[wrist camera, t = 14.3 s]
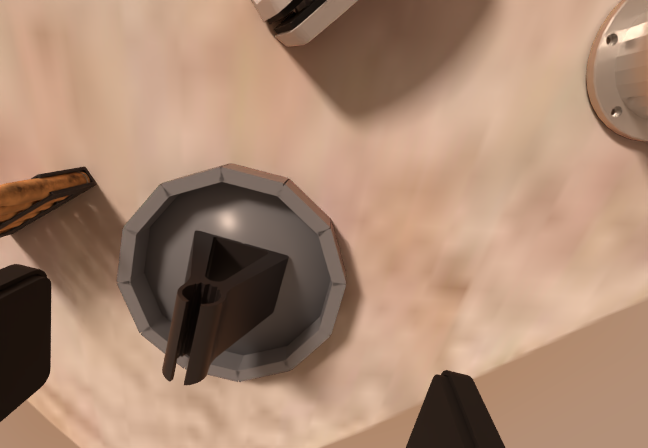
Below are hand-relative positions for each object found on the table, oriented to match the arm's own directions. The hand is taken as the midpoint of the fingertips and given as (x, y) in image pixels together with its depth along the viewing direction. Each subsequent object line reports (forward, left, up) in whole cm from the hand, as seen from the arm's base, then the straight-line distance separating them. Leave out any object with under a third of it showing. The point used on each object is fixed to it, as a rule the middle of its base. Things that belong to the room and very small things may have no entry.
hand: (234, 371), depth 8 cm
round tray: (+5, +9, -25) cm, 27 cm away
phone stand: (+5, +9, -24) cm, 26 cm away
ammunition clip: (+24, +7, -25) cm, 35 cm away
